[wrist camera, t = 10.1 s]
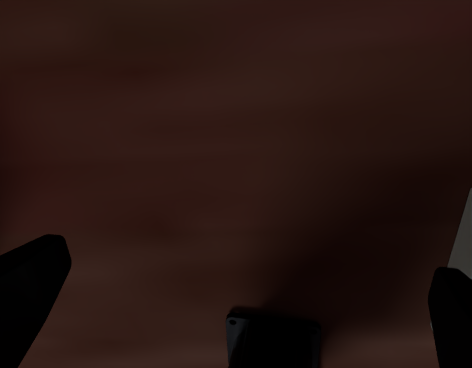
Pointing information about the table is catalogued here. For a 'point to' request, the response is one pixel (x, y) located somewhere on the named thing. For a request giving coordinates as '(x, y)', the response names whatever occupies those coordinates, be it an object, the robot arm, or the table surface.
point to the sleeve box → (463, 243)
